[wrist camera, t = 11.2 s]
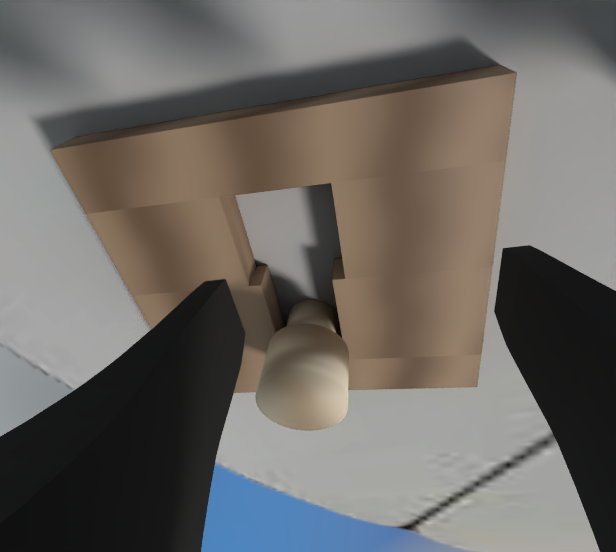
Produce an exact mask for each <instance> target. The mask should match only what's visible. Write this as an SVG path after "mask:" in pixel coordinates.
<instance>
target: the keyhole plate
mask: <svg viewBox="0 0 616 552" xmlns="http://www.w3.org/2000/svg"><path fill="white" fill-rule="evenodd" d="M516 76H517V72H515V71H512V70H510V69H508V68H506V67H504V66H502V65H496V66H490V67H484V68H479V69H473V70H467V71H461V72H455V73H449V74H443V75H437V76H432V77H426V78H420V79H414V80H408V81H402V82H396V83H391V84H385V85H379V86H373V87H367V88H361V89H355V90H350V91H344V92H338V93H332V94H326V95H320V96H314V97H309V98H303V99H297V100H291V101H285V102H279V103H273V104H267V105H262V106H256V107H250V108H244V109H238V110H232V111H226V112H221V113H215V114H209V115H203V116H197V117H191V118H185V119H180V120H174V121H168V122H162V123H156V124H150V125H144V126H139V127H133V128H127V129H121V130H115V131H109V132H103V133H97V134H92V135H86V136H80V137H75V138H73V139H71V140H69V141H67V142H65V143H63V144H61V145H59V146H57V147H55V148H53V149H51V150H50V152H51V153H52V155H53V157H54V159H55V160H56V162H57V164H58V166H59V168H60V169H61V171H62V173H63V175H64V176H65V178H66V180H67V182H68V183H69V185H70V187H71V189H72V191H73V192H74V194H75V196H76V198H77V199H78V201H79V203H80V205H81V206H82V208H83V210H84V212H85V214H86V215H87V217H88V219H89V221H90V222H91V224H92V226H93V228H94V229H95V231H96V233H97V235H98V237H99V238H100V240H101V242H102V244H103V245H104V247H105V249H106V251H107V252H108V254H109V256H110V258H111V259H112V261H113V263H114V265H115V267H116V268H117V270H118V272H119V274H120V275H121V277H122V279H123V281H124V282H125V284H126V286H127V288H128V290H129V291H130V293H131V295H132V297H133V298H134V300H135V302H136V304H137V305H138V307H139V309H140V311H141V313H142V314H143V316H144V318H145V320H146V321H147V323H148V325H149V327H150V328H151V330H152V329H153V328H154V327H155V326H156V325H157V324H158V323H159V322H160V321H161V320H162V319H163V318H165V317H166V316H167V315H168V314H169V313H170V312H171V311H172V310H173V309H174V308H175V307H176V306H178V305H179V304H180V303H181V302H182V301H183V300H184V299H185V298H186V297H187V296H188V295H189V294H190V293H192V292H193V291H194V290H195V289H196V288H197V287H198V286H200V285H201V284H202V283H203V282H205V281H211V280H220V279H226V281H227V284H228V286H229V289H230V292H231V295H232V297H233V300H234V303H235V305H236V308H237V311H238V314H239V316H240V319H241V322H242V325H243V327H244V330H245V333H246V334H245V342H244V350H243V356H242V363H241V368H240V371H239V375H238V379H237V382H236V386H235V389H234V393H242V392H257V388H258V384H259V381H260V377H261V373H262V369H263V365H264V361H265V357H266V353H267V349H268V345H269V342H270V339H271V338H272V336H273V335H274V334H275V333H276V332H277V331H279V330H280V329H282V328H284V327H285V324H284V321H283V317H282V314H281V310H280V307H279V303H278V300H277V296H276V293H275V289H274V286H273V282H272V279H271V275H270V272H269V268H268V265H263V266H256V263H255V260H254V257H253V253H252V250H251V247H250V244H249V240H248V237H247V234H246V231H245V227H244V224H243V221H242V217H241V214H240V211H239V208H238V204H237V201H236V198H235V195H240V194H248V193H256V192H264V191H272V190H280V189H288V188H296V187H304V186H312V185H319V184H327V183H331V185H332V192H333V198H334V205H335V212H336V219H337V226H338V233H339V239H340V246H341V253H342V259H334V266H333V277H332V281H333V287H334V293H335V299H336V305H337V310H338V316H339V322H340V328H341V334H342V337H341V338H342V339H343V340H344V341H345V343H346V345H347V347H348V350H349V379H348V390H370V389H413V388H456V387H477V385H478V377H479V369H480V361H481V353H482V345H483V337H484V329H485V321H486V314H487V306H488V298H489V290H490V282H491V274H492V266H493V258H494V250H495V242H496V234H497V227H498V219H499V211H500V203H501V195H502V187H503V179H504V171H505V163H506V155H507V148H508V140H509V132H510V124H511V116H512V108H513V100H514V92H515V84H516Z"/></svg>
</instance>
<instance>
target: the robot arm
mask: <svg viewBox="0 0 616 552" xmlns="http://www.w3.org/2000/svg"><path fill="white" fill-rule="evenodd" d="M494 312H495V315H496V318H497V320H498V323H499V326H500V329H501V332H502V334H503V337H504V340H505V342H506V345H507V347H508V349H509V351H510V353H511V355H512V357H513V359H514V361H515V363H516V364H517V366H518V368H519V370H520V372H521V374H522V376H523V378H524V379H525V381H526V383H527V385H528V387H529V389H530V391H531V392H532V394H533V396H534V398H535V400H536V402H537V404H538V405H539V407H540V409H541V411H542V413H543V415H544V417H545V419H546V420H547V422H548V424H549V426H550V428H551V430H552V432H553V434H554V436H555V439H556V441H557V443H558V445H559V447H560V450H561V452H562V455H563V457H564V460H565V462H566V464H567V467H568V469H569V472H570V474H571V477H572V479H573V481H574V484H575V486H576V489H577V492H578V494H579V497H580V499H581V502H582V505H583V507H584V510H585V512H586V515H587V518H588V520H589V523H590V525H591V528H592V531H593V533H594V536H595V539H596V542H597V544H598V547H599V550H600V552H616V291H615V290H613V289H611V288H609V287H607V286H605V285H603V284H601V283H599V282H597V281H596V280H594V279H592V278H590V277H588V276H586V275H584V274H583V273H581V272H579V271H577V270H575V269H573V268H572V267H570V266H568V265H566V264H564V263H563V262H561V261H559V260H557V259H555V258H553V257H552V256H550V255H548V254H546V253H544V252H542V251H540V250H538V249H536V248H534V247H532V246H530V245H529V246H520V247H511V248H503V252H502V259H501V266H500V274H499V281H498V288H497V296H496V303H495V310H494ZM245 334H246V333H245V330H244V327H243V325H242V322H241V319H240V316H239V314H238V311H237V308H236V305H235V303H234V300H233V297H232V295H231V292H230V289H229V286H228V284H227V281H226V279H220V280H211V281H205V282H203V283H202V284H201V285H200V286H198V287H197V288H196V289H195V290H194V291H193V292H192V293H190V294H189V295H188V296H187V297H186V298H185V299H184V300H183V301H182V302H181V303H180V304H179V305H178V306H176V307H175V308H174V309H173V310H172V311H171V312H170V313H169V314H168V315H167V316H166V317H165V318H163V319H162V320H161V321H160V322H159V323H158V324H157V325H156V326H155V327H154V328H153V329H152V330H150V331H149V332H148V333H147V334H146V335H145V336H143V337H142V338H141V339H140V340H139V341H138V342H136V343H135V344H134V345H133V346H132V347H130V348H129V349H128V350H127V351H126V352H125V353H123V354H122V355H121V356H120V357H119V358H117V359H116V360H115V361H114V362H112V363H111V364H110V365H109V366H107V367H106V368H105V369H103V370H102V371H101V372H99V373H98V374H97V375H95V376H94V377H92V378H91V379H90V380H88V381H87V382H86V383H84V384H83V385H81V386H80V387H79V388H77V389H76V390H74V391H73V392H71V393H70V394H68V395H67V396H65V397H64V398H62V399H61V400H59V401H57V402H56V403H54V404H53V405H51V406H50V407H48V408H47V409H45V410H43V411H42V412H40V413H39V414H37V415H36V416H34V417H33V418H31V419H29V420H28V421H26V422H25V423H23V424H21V425H19V426H18V427H16V428H14V429H13V430H11V431H9V432H7V433H6V434H4V435H2V436H1V437H0V552H201V546H202V538H203V531H204V525H205V518H206V512H207V505H208V498H209V493H210V487H211V481H212V476H213V471H214V465H215V459H216V455H217V450H218V446H219V442H220V438H221V435H222V431H223V428H224V424H225V421H226V417H227V414H228V410H229V407H230V403H231V400H232V396H233V393H234V389H235V386H236V382H237V379H238V375H239V371H240V368H241V363H242V356H243V350H244V342H245Z"/></svg>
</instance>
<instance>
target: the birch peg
mask: <svg viewBox="0 0 616 552" xmlns="http://www.w3.org/2000/svg"><path fill="white" fill-rule="evenodd" d="M348 379H349V350H348V347H347V345H346V343H345V341H344V340H343V339H342V338H341V337H340V336H339V335H338V334H337V314H336V312H335V311H334V309H333V308H332V307H330V306H329V305H328V304H326V303H324V302H321V301H317V300H305V301H301V302H299V303H297V304H296V305H294V306H293V307H292V309H291V310H290V312H289V317H288V321H287V326H286V327H284V328H282V329H280V330H279V331H277V332H276V333H275V334H274V335H273V336H272V338H271V339H270V342H269V345H268V349H267V353H266V357H265V361H264V365H263V369H262V373H261V377H260V381H259V384H258V388H257V392H256V403H257V406H258V408H259V409H260V411H261V412H262V413H263V414H264V415H265V416H266V417H267V418H269V419H270V420H272V421H273V422H275V423H277V424H279V425H282V426H284V427H288V428H291V429H296V430H305V431H313V430H321V429H326V428H329V427H331V426H334V425H336V424H337V423H339V422H340V421H341V420H342V419H343V418H344V417H345V415H346V413H347V410H348Z"/></svg>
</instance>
